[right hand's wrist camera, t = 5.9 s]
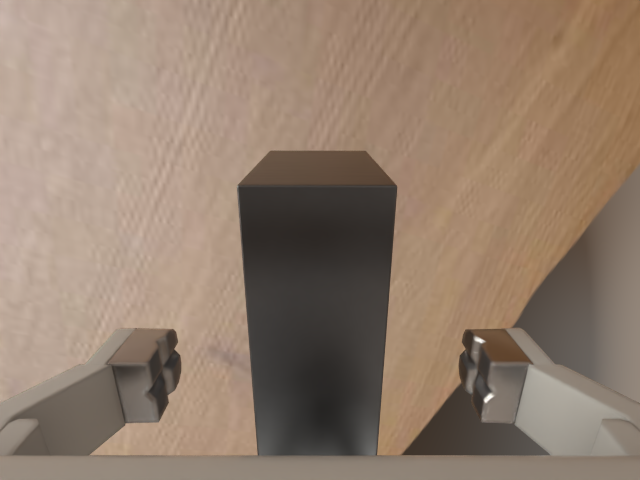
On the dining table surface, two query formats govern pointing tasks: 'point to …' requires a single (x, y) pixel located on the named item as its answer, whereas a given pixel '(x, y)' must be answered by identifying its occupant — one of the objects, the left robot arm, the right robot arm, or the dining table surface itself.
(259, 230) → the bar
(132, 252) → the dining table surface
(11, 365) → the dining table surface
